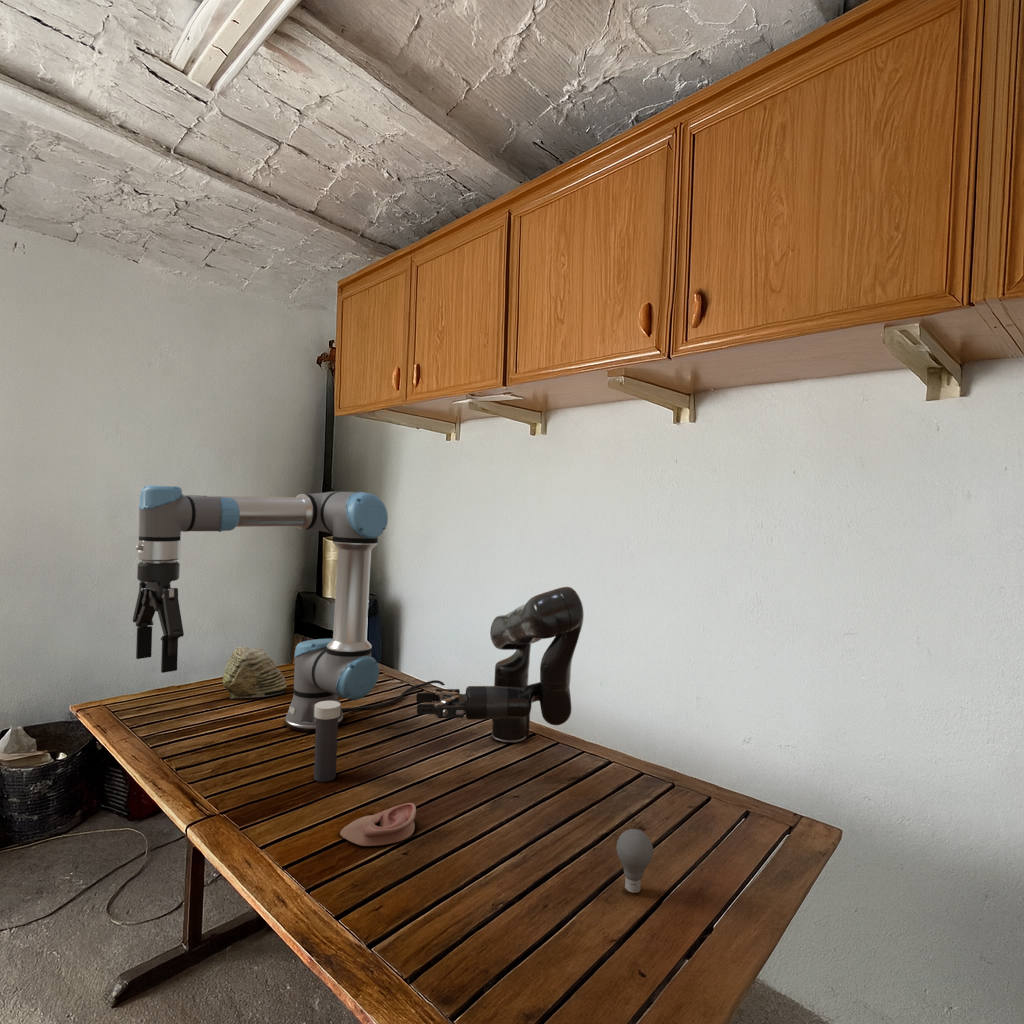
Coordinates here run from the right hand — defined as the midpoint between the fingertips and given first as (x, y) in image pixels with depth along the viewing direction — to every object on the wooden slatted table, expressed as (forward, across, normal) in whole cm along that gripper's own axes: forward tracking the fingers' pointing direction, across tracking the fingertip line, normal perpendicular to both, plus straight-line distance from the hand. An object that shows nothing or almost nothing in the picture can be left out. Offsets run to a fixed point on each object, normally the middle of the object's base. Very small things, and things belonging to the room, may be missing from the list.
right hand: (416, 703), depth 146 cm
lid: (+20, 0, 0) cm, 20 cm away
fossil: (+48, -61, +16) cm, 79 cm away
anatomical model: (+7, +25, +17) cm, 31 cm away
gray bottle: (+20, 0, +17) cm, 26 cm away
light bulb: (-36, +47, +17) cm, 61 cm away
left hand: (+54, +7, -11) cm, 55 cm away
